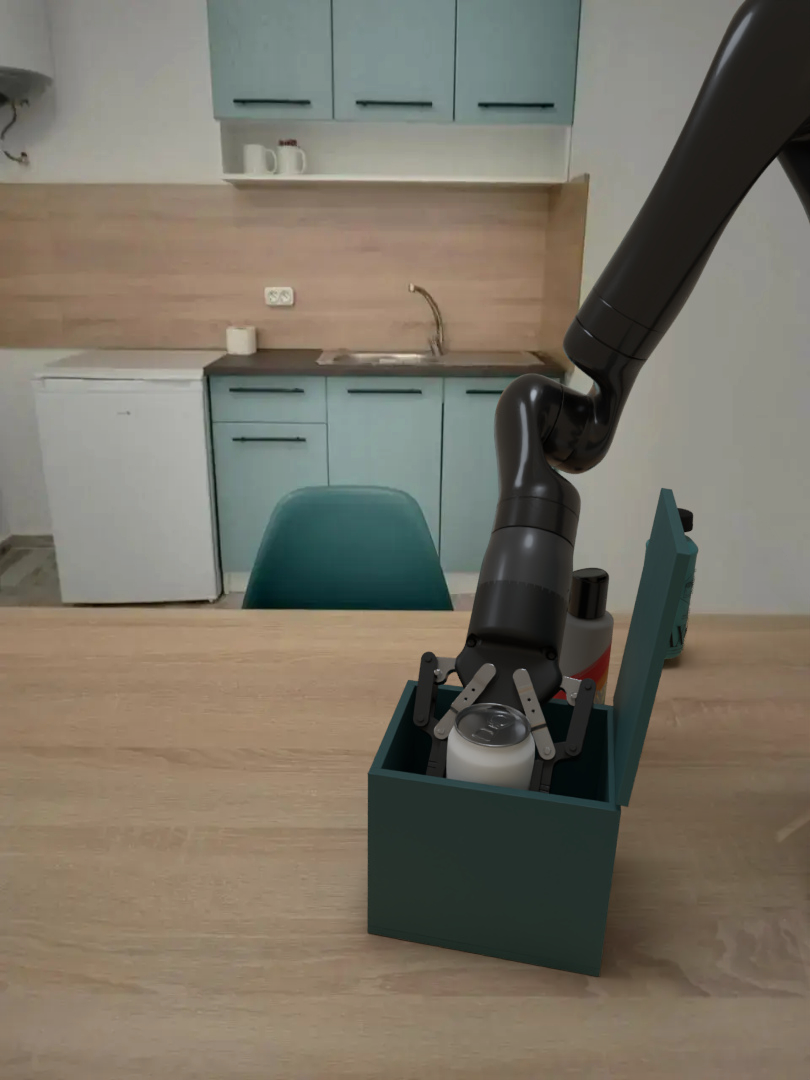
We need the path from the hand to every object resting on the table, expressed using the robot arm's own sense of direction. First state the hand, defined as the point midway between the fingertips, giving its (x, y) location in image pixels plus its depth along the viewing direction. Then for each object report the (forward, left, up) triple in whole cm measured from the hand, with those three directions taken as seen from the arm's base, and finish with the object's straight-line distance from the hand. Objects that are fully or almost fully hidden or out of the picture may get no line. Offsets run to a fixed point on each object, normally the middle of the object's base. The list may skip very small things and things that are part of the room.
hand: (484, 802), depth 61 cm
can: (0, -2, -6) cm, 7 cm away
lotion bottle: (-7, -27, -12) cm, 30 cm away
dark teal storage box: (-1, -4, -12) cm, 12 cm away
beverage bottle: (-17, -49, -12) cm, 53 cm away
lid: (-10, -4, +13) cm, 17 cm away
